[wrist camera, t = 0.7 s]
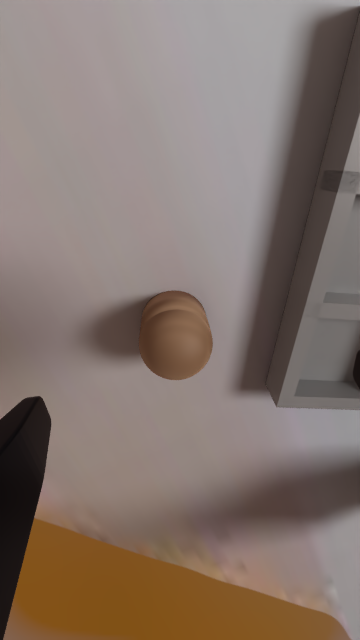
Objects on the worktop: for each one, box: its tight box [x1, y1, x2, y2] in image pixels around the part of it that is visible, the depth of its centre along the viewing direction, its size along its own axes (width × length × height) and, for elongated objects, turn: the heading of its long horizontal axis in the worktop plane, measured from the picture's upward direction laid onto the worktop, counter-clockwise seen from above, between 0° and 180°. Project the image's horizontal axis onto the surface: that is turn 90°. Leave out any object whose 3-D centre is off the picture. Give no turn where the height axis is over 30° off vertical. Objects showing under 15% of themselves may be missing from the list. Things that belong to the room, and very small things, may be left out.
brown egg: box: [139, 291, 213, 380], centre depth 19 cm, size 4×4×5 cm
